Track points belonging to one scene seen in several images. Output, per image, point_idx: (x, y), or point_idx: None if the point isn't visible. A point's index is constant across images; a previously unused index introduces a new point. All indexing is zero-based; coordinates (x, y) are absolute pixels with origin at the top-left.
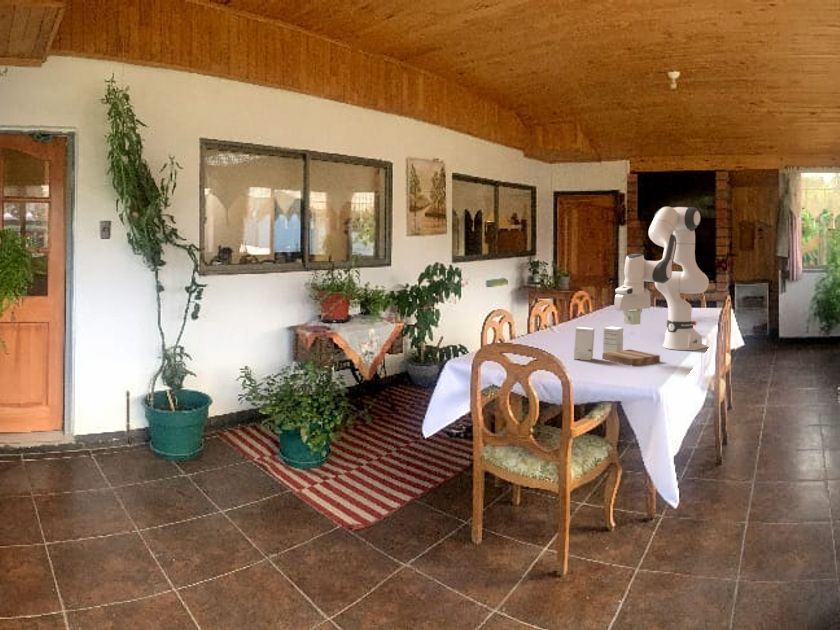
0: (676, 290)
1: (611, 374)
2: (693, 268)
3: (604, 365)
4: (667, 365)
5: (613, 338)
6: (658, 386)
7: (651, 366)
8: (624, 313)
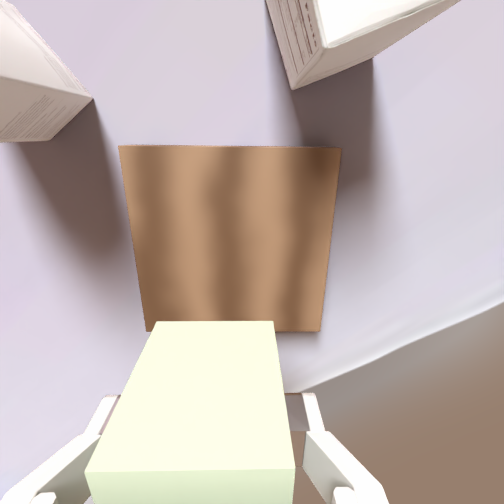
0: None
1: None
2: None
3: (53, 256)
4: (280, 365)
5: (297, 36)
6: None
7: None
8: (39, 479)
